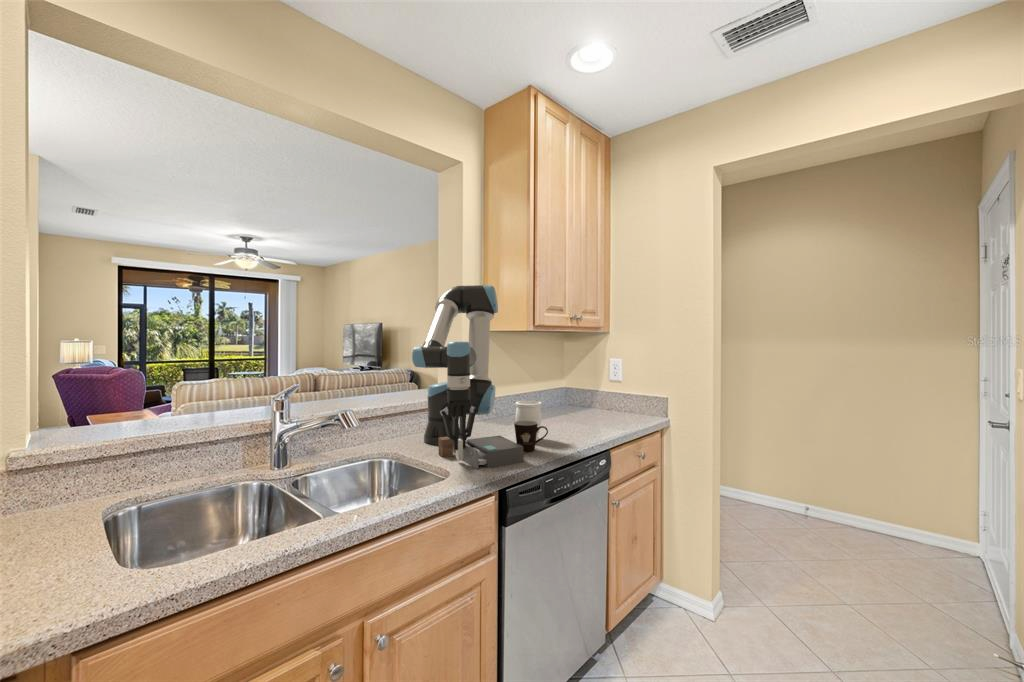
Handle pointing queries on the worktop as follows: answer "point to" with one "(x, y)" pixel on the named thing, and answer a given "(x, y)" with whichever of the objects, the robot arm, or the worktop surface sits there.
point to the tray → (472, 457)
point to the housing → (498, 450)
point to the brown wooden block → (445, 446)
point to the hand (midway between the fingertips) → (459, 459)
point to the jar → (529, 412)
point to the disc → (481, 453)
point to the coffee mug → (527, 434)
